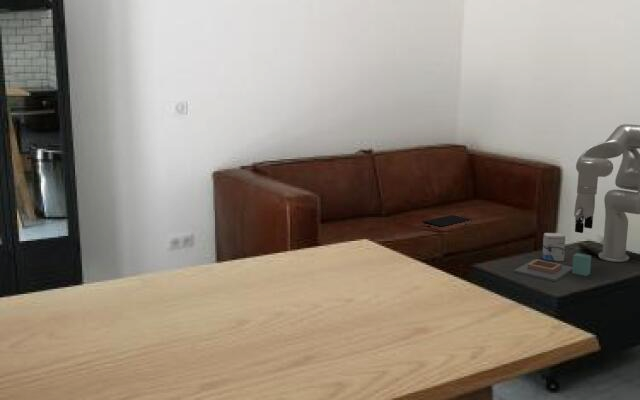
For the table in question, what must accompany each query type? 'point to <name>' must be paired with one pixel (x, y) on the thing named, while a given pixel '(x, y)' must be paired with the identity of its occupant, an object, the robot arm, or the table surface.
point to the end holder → (544, 270)
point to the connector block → (581, 264)
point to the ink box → (553, 247)
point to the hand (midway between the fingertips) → (583, 230)
